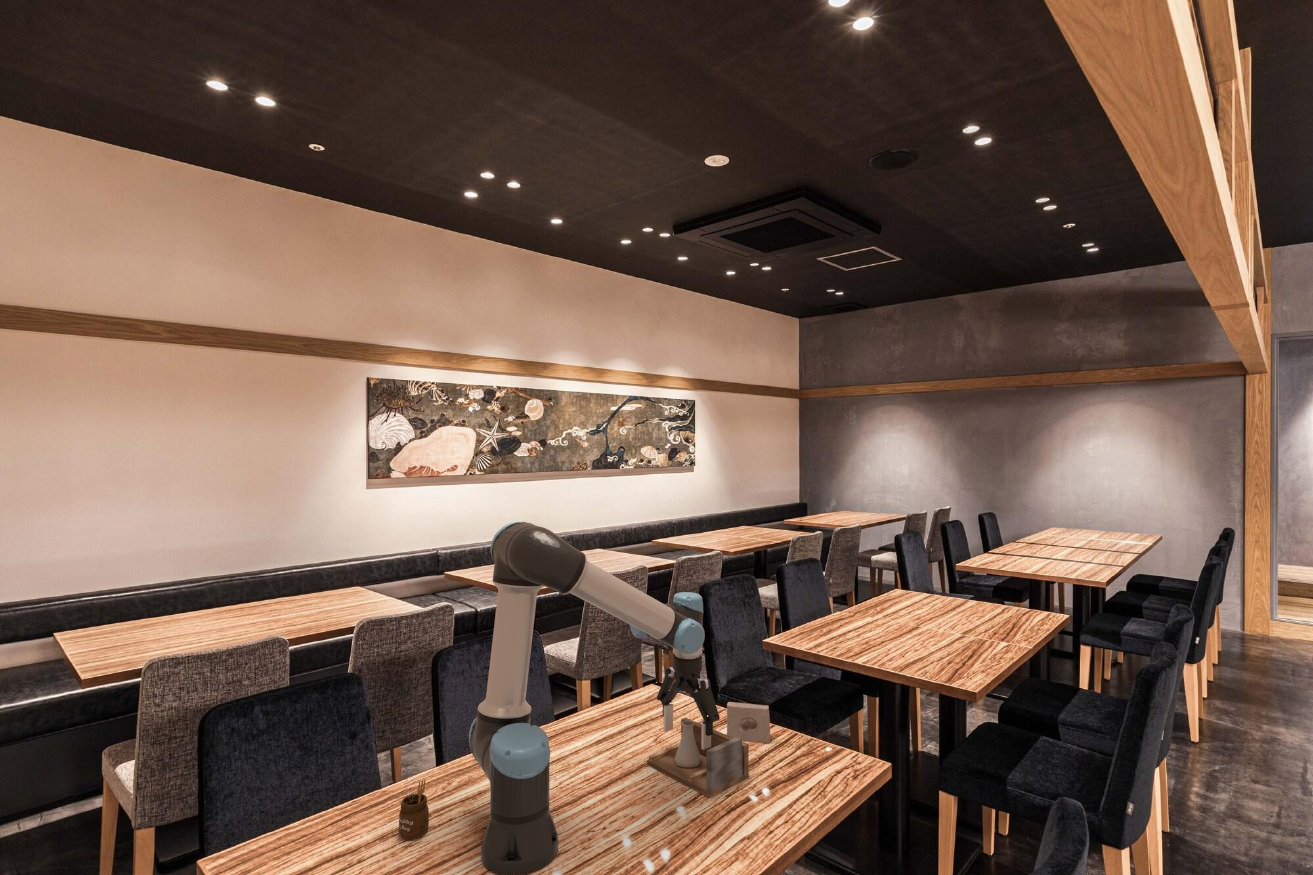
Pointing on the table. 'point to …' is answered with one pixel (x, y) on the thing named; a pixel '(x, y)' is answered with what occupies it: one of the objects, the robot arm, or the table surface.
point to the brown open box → (707, 763)
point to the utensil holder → (414, 814)
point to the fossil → (748, 722)
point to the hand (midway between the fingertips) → (686, 738)
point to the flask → (687, 748)
